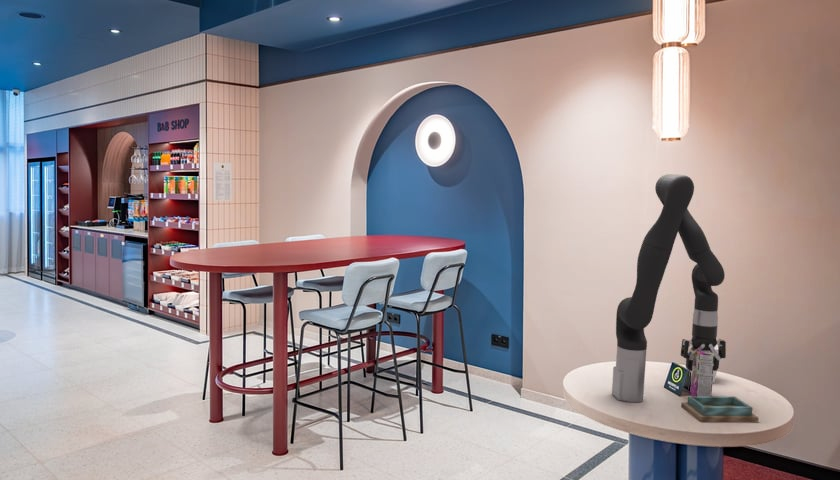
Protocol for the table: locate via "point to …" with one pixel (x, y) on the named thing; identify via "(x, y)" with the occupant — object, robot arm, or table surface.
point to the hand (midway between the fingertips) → (702, 370)
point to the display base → (719, 409)
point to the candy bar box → (702, 373)
